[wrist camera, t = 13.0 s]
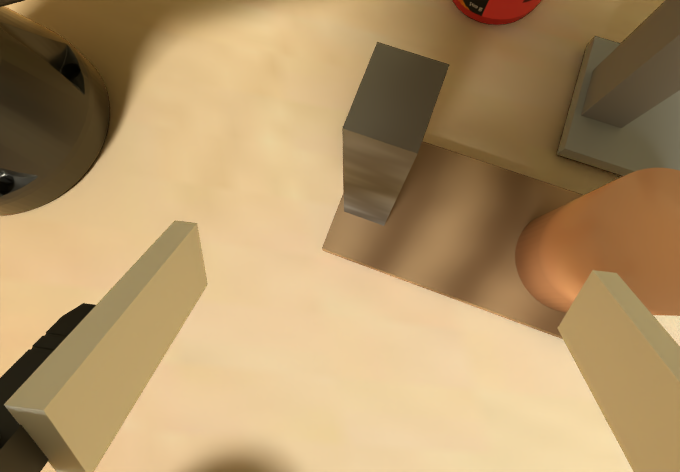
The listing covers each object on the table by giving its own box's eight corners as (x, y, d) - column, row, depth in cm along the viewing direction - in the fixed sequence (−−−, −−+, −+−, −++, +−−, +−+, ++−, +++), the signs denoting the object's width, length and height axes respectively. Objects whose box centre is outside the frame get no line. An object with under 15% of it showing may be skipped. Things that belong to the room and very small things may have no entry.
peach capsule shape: (503, 291, 24) (578, 283, 16) (529, 197, 25) (611, 148, 18) (607, 328, 24) (737, 339, 16) (628, 231, 25) (759, 195, 17)
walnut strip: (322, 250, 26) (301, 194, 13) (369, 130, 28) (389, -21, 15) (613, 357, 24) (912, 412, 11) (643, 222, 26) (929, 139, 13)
